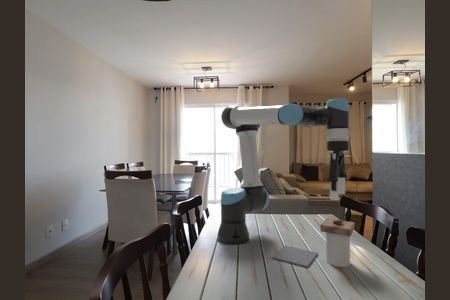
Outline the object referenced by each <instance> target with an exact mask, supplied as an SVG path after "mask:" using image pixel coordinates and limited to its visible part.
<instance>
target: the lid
mask: <svg viewBox="0 0 450 300" xmlns="http://www.w3.org/2000/svg"><path fill="white" fill-rule="evenodd" d="M319 227H320V232H322V233H326V232H327V233H332V234H338V235H344V236H350V237H351V236H352V234H353V232H354V231H355V222H353V221H346V220H342V219H336V218H334V219H333V218H325V220H324V221H322V222H321V223H320V226H319Z"/></svg>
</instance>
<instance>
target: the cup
mask: <svg viewBox="0 0 450 300" xmlns="http://www.w3.org/2000/svg"><path fill="white" fill-rule="evenodd" d="M350 238H351V236H344V235H338V234H332V233H327V232H325V261H326V262H327V263H328V264H329V265H331V266H333V267H340V268H346V267H349V266H350V264H351V258H350V257H351V256H350V255H351V251H350V250H351V240H350Z"/></svg>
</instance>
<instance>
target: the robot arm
mask: <svg viewBox="0 0 450 300" xmlns="http://www.w3.org/2000/svg"><path fill="white" fill-rule="evenodd" d="M349 114H350V109H349V101H348V99H346V98H343V97H342V98H339V97H338V98H332V99H328V100H327V101H326V104H325V105H324V106H319V107H318V106H317V107H312V106H311V107H310V106H307V105H306V106H305V105H299V104H296V103H286V104H283V105H269V106H267V105H266V106H253V107H251V106H250V107H249V106H248V107H247V106H240V105H229V106H227V107H225V108H224V109H223V111H222V112H221V115H220V117H221V122H222V124H223V125H224V126H225V127H226V128H229V129H231V130H235V134H236V135H237V136H238V138H239V146H240V147H239V149H240V151H239V152H240V161H241V173H242V182H243V183H242V184H241V185H240V187H231V188H227V189H224V190H223V191H222V192H221V194H220V212H221V213H220V217H221V218H220V220H221V221H220V225H219V228H218V232H217V240H218V242H220V243H223V244H226V245H240V244H244V243H247V242H249V241H250V232H249V229H248V226H247V221H246V220H247V219H246V215H248V214H252V213H258V212H260V211H263V210H265V209H266V208H267V207H268V206H269V203H270V195H269V192H268V191H267V189H266V188H264V184H263V183H262V182H261V179H260V167H259V157H258V145H257V134H258V133H259V129H260V127H261V125H267V126H268V125H269V126H270V125H272V126H273V125H274V126H275V125H276V126H280V125H283V126H300V127H302V128H311V127H312V128H313V127H325V126H326V140H327V142H326V150H327V151H328V152H332V153H330V161H329V169H328V170H329V171H328V178H327V182H329V200H330V201H340V200H339V195H346V178H348V175H347V173H346V171H347V170H346V162H345V161H346V160H345V153H344V152H348V151H349V150H350V141H349V139H350V138H349V134H351V130H350V131H349V128H350V127H349V125H350V124H349V123H350V122H349V121H350V118H349V116H350V115H349Z"/></svg>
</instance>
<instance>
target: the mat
mask: <svg viewBox="0 0 450 300" xmlns="http://www.w3.org/2000/svg"><path fill="white" fill-rule="evenodd" d="M318 254H319V252H317V251H313V250H307V249H303V248H300V247H299V248H298V247H296V246H295V247H293V246H289V245H283V246H282V247H281V248H280V249H278V251H277V252H275V253H273V255H272V256H271V259H273V260H276V261H279V262H280V261H281V262H285V263H289V264H293V265H296V266H300V267H304V268H307V269H308V268H309V267H310V265H312V262H314V260H315V259H316V258H317V256H318Z"/></svg>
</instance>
